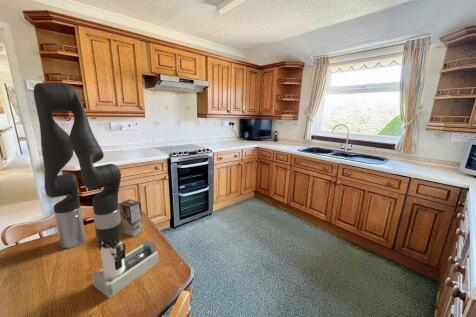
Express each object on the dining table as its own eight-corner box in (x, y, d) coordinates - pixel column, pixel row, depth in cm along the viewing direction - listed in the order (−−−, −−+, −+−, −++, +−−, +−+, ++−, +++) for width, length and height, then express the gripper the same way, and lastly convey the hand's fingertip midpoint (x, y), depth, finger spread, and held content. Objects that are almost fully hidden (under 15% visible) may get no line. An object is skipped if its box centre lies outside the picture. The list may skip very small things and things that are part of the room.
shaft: (124, 267, 80) (123, 254, 78) (148, 252, 88) (147, 240, 87) (132, 273, 77) (131, 259, 76) (155, 256, 86) (154, 244, 85)
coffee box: (143, 230, 107) (141, 202, 103) (133, 237, 101) (130, 207, 98) (131, 226, 111) (129, 198, 107) (120, 232, 105) (117, 203, 101)
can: (115, 281, 69) (111, 250, 67) (99, 277, 71) (95, 247, 68) (129, 267, 76) (125, 238, 73) (114, 264, 77) (110, 236, 74)
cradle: (93, 285, 72) (91, 273, 71) (143, 253, 89) (142, 243, 88) (109, 298, 68) (107, 285, 67) (158, 261, 85) (158, 251, 84)
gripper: (84, 221, 69) (91, 264, 73) (108, 234, 62) (114, 280, 66) (107, 212, 76) (112, 252, 79) (131, 223, 69) (135, 266, 72)
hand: (113, 264), depth 73 cm, fingers closed on can, 6 cm apart
